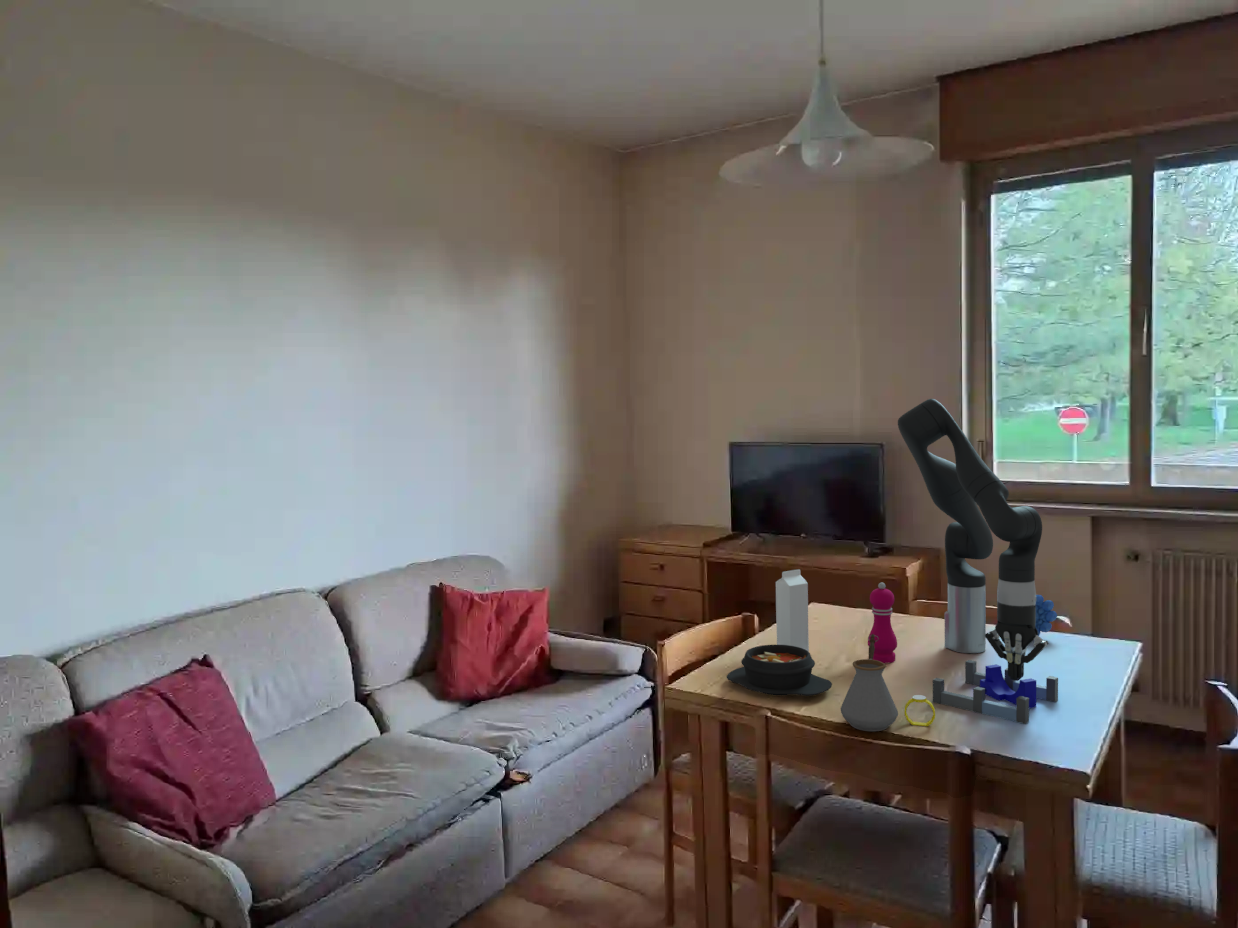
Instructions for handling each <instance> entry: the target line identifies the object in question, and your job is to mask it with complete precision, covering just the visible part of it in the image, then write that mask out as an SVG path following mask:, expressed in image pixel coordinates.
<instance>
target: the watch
mask: <svg viewBox="0 0 1238 928" xmlns="http://www.w3.org/2000/svg"><path fill="white" fill-rule="evenodd" d="M914 702H915V703H920V704H921V703H925V704H927V705H929V707H930V708H931V710H932V716H931V718H930V720H928V721H926V722H920V721H913V720H912V719H911V718H910V717H909V715H908V713H907V708H908V707H910V704H913V703H914ZM935 709H936V708H935V705H933V703H932V702H931V700H929V699H927V696H925V695H922V694H915V695H912V697H911V698H910V699H909V700H908V701H906V703H905V704H904V710H903V711H904V713H903V714H904V717H905V719H906V721H907V722H908V723H909V724H910V725H911V726H916V727H917V726H919V727H929V726H931V725H932V723H934V720H935V719H936V710H935Z"/></svg>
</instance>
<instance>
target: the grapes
mask: <svg viewBox="0 0 1238 928" xmlns="http://www.w3.org/2000/svg"><path fill="white" fill-rule="evenodd" d="M1054 604H1055V603H1054V601H1052V600H1050V599H1046V600H1045V599H1044V596H1042V594H1036V623H1035V627H1036V629H1037V631H1038V636H1039V637H1040V635H1041V632H1042V633H1048V632H1050V631H1051V629H1052V627H1053V626H1052V622H1054V621H1056V619H1057V617H1058V614H1057V612H1056V611H1054V610H1053V609H1054V607H1055V605H1054Z"/></svg>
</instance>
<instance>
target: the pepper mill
mask: <svg viewBox="0 0 1238 928" xmlns="http://www.w3.org/2000/svg"><path fill="white" fill-rule="evenodd" d="M877 587H878V588H875V589H873V590H872V591H871V592H870V594H869V602H870V604H871V605H872V607H871V610H872V611H871V614H873V624H872V628H871V630H870V632H869V634H868V636H870V635H872V634H874V635H876V636H877V637H876V636H875V639H874V640H875V641H876V642H875V643H874V647H875V650H874V656H873V660H877V661H880V662H883V663H884V664H891V663H894V662H895V661H896V653H895V650H896V649H897V648H898V640H897V639H898V638H897V636H896V634H895V631H894V629H893V627H892V624H891V623H892V622H891V618H892V617H891V616H892V614H893V608H892V606H893V605H894V603H895V595H894V593H893V591H891V590H890V589H888V588H886V587H887V586H886V584H885V583H884V582H879V583H878V585H877ZM878 638H879V639H878ZM870 639H871V636H870V637H869V640H870ZM869 640H868V639H867V646H868V647H869V645H870V642H869ZM877 640H878V641H877Z"/></svg>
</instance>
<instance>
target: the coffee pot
mask: <svg viewBox="0 0 1238 928" xmlns="http://www.w3.org/2000/svg"><path fill="white" fill-rule="evenodd" d="M870 636H871V639H870V640H869V637H870ZM870 636H869V635H868V637H867V641H868V640H869V642H870V645H869V646H868V658H867V659H866V658H865V659H863V658H862V659H858V660H857V659H856V660H854V661H853V662H852V667H854V670H855V674H854V676H853V679H852V681H851V684H850V685H849V688H848V689H847V692H846V694H845V696H844V698H843V702H842V703H841V706H840V713H841V716H842V718H844V719H845V720H846V721H847V723H849V724H850V726H852V728H854V729H857V730H860V731H865V732H879V731H884V730H886V729H888V728H889V726H891V725H892V724H893V723H895V722H896V720H897V717H898V715H899V711H898V709H897V706H896V703H895V701H894V699H893V697H892V695H891V692H890V690H889V688H888V685H887V683H886V682H885V679H884V677H883V672H884V671H885V669H886V668H887V664H886V663H883V662H880V661H877V660H873V656H874V650H875V647H874V643H875V642H876V641H875V640H874V639H875V636H876V635H874V634H872V635H870ZM876 637H877V636H876ZM878 639H879V638H878ZM877 641H878V640H877Z"/></svg>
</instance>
